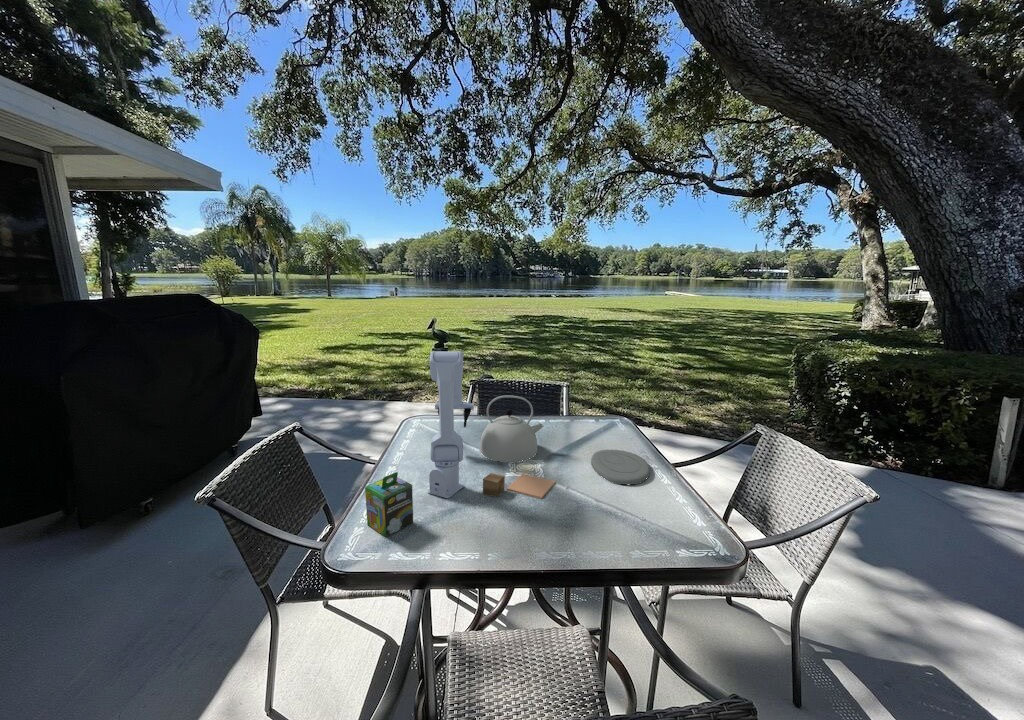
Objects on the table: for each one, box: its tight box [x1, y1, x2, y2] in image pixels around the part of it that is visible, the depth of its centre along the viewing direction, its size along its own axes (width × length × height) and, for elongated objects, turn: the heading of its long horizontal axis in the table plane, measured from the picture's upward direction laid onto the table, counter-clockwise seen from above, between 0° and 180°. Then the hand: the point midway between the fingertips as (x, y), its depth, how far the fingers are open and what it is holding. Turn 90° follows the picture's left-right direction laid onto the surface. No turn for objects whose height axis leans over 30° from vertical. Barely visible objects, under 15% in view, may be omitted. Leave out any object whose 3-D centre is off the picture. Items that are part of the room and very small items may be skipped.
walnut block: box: [482, 472, 506, 498], centre depth 133 cm, size 5×5×5 cm
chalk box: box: [364, 471, 414, 538], centre depth 113 cm, size 9×9×15 cm
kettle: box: [479, 395, 545, 463], centre depth 165 cm, size 25×23×22 cm
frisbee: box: [590, 449, 651, 485], centre depth 152 cm, size 20×27×3 cm
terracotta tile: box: [506, 473, 556, 500], centre depth 137 cm, size 12×12×1 cm
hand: (455, 426), depth 163 cm, fingers open, 7 cm apart
